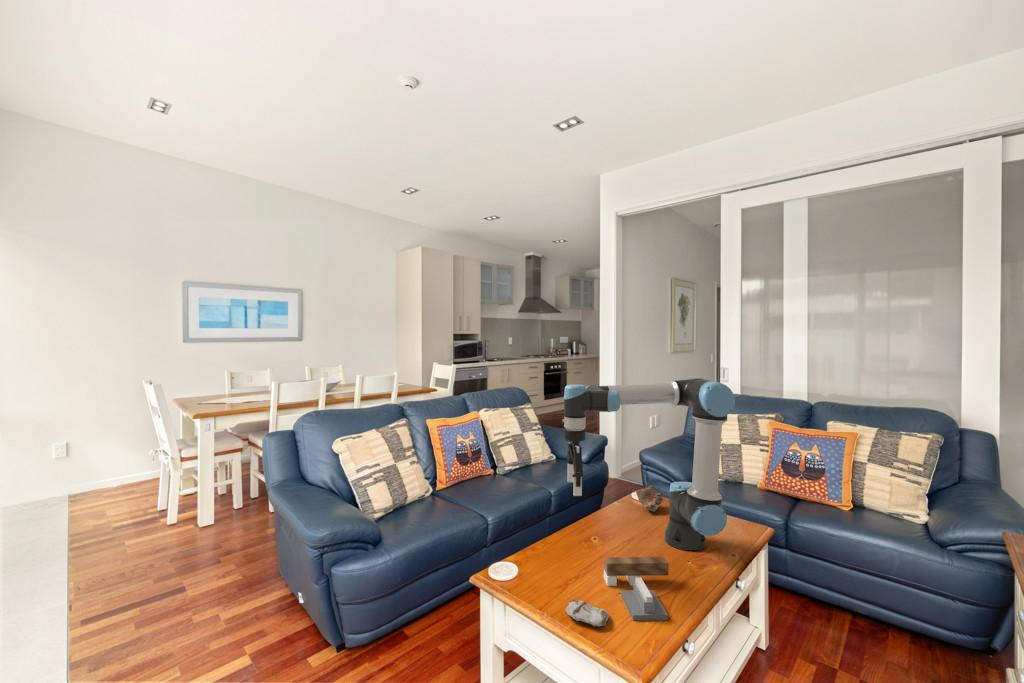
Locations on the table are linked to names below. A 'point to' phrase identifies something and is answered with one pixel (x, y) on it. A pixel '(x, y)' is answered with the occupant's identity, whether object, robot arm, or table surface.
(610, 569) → the bar
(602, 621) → the stone
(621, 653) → the table surface
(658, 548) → the table surface
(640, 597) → the fulcrum
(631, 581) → the blocks
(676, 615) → the table surface
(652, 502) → the rock
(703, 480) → the robot arm
